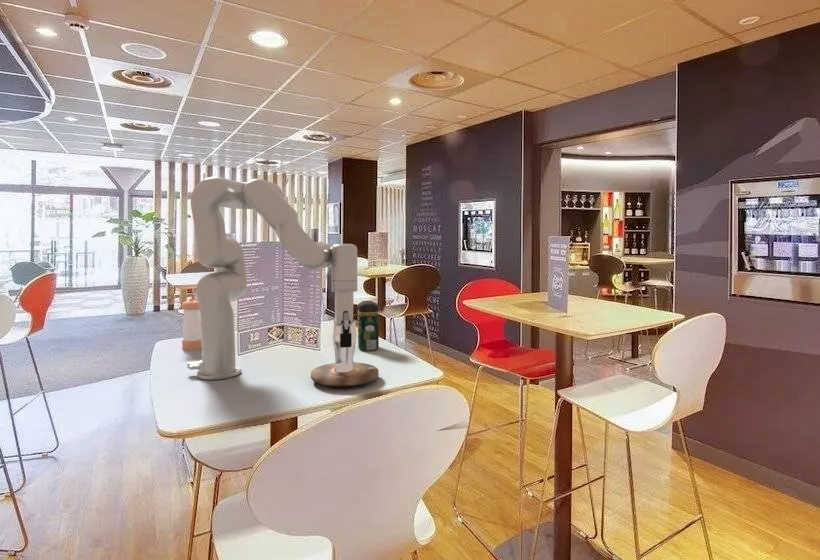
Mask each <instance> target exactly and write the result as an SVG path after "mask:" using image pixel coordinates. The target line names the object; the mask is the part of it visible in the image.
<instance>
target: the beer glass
mask: <svg viewBox="0 0 820 560" xmlns="http://www.w3.org/2000/svg"><path fill="white" fill-rule="evenodd" d="M350 323H351V322H350ZM356 324H357V323H356V320H355V319H353V324H352V325H351V334H352V346H351V347H344V348H341V347H340V333H341V324H340V325H338V326H336V324H335V319H334V320H333V321H332V345H333V351H334V356H335V360H334V361H335V362H334V363H335V367H334V372H336V373H342V374H345V373H351V372H354V370H355V368H354V354H355V349H356V343H357V325H356Z"/></svg>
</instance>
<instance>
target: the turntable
mask: <svg viewBox="0 0 820 560" xmlns="http://www.w3.org/2000/svg"><path fill="white" fill-rule="evenodd" d="M353 362H354V361H353ZM334 367H335V362H332V363H325V364H322V365H319V366H317V367H315V368H313V369H312V370H311V372H310V378H311V380H312V381H313V382H315V383H317V384H321V385H323V384H324V386H325V385H330V386H352V385H359V384H364V383H366V384H368V383H370V382H372V381H374V380H375V381H376V379H377V378H378V377H379V375H380V374H379V373H380V372H379V369H378V367H376V366H375V365H372V364H368V363H365V362H364V363H363V362H356V361H355V362H354V368H355V370H354V372H351V373H345V374H342V373H336V372H334ZM364 385H365V384H364Z"/></svg>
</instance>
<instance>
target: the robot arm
mask: <svg viewBox="0 0 820 560" xmlns="http://www.w3.org/2000/svg"><path fill="white" fill-rule="evenodd" d="M220 208H229V209H236V210H254V211H255V212H256V213H257V214H258V215H259V216H260V217H261V218H262V219H263V220H264V221H265V222H266V224H267V225H269V226H270V228H271V229H272V230H273V231H274V232H275V234H276V237H277V238H278V239H279V242H280V244H281V245H282V247H283V248H284V249H285V250H286V252H288V253H289V255H291V257H293V258H294V260H296V261H297V263H299V264H300V265H301V266H302V267H304V268H305V269H309V270H313V271H315V270H318V269H325V268H331V292H333V293H334V320H335V324H336V326H338V325H340V324H341V333H340V347H341V348H344V347H351V346H352V334H351V325H352V324H353V320H354V292H358V247H357V245H356V244H353V243H336V244H335V243H334V244H331V243H326V242H316V241H314V240H313V239H312V238H311V236H309V234H307V233H306V231H305V230H304V229H303V228H302V226H301V225H300V222H299V218H298V212H297V210H296V209H294V207H293V206H292V205H290V203H288V202H287V200H286V199H284V193H283V190H282V189H281V188H280V186H279V185H278V184H277V183H275V182H272V181H270V180H265V179H262V178H253V179H251V180H249V181H248V182H245V181H236V180H232V179H228V178H226V177H221V176H220V177H219V176H211V177H207V178H203V179H202V180H200V181H199V182H198V183H197V184H196V185H195V186H194V188H193V189H192V192H191V196H190V209H191V215H192V219H193V227H194V238H195V246H196V247H195V248H196V256H197V259H198V261H199V263H200V265H201V266H203V267H205V268H208V269H216V272H210V273H208V274H205V275H203V276H202V277H201V278H200V279H199V280H198V282H197V284H196V289H195V290H196V291H195V293H196V300H197V301H198V303H199V308H200V309H199V310H200V323H201V344H202V349H201V360H199V361H187V365H186V367H187V369H189V370H190V371H191V370H192V371H193V370H198V371H197V372H196V377H197V378H199V379H201V380H206V381H207V380H208V381H210V380H211V381H215V380H224V379H225V380H226V379H229V378H233V377H236V376H238V375H239V374H241V372H242V367H240V366H238V365H236V333H235V331H236V329H235V328H236V327H235V314H234V310H233V307H232V304H231V303H232V302H231V301H234V300H237V299H240V298H241V297H242V296H244V294H245V293H246V291H247V285H248V283H247V282H248V281H247V271H246V265H245V264H246V263H245V262H246V261H245V253H244V251H243V250H244V249H243V248H242V246H241V244H240V243H239V242H238V241H237V240H236V239H234V238H233V237H229V236H228V237H227V233H226V226H225V220H224V218H223V215H222V213H221V209H220ZM350 322H351V323H350Z"/></svg>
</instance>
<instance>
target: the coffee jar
mask: <svg viewBox="0 0 820 560" xmlns="http://www.w3.org/2000/svg"><path fill="white" fill-rule="evenodd" d="M379 336H380V335H379V305H378V303H377V302H375V301H373V300H361V301H360V302H359V303H358V304H357V347H358V349H359V351H363V352H364V351H365V352H372V351H376V350H378V349H379V346H380V345H379V341H380V340H379V338H380V337H379Z"/></svg>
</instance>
